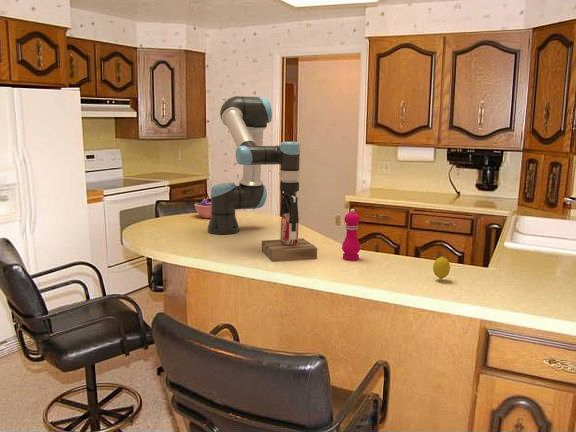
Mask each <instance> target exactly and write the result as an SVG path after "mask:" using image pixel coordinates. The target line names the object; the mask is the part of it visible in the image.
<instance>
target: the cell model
mask: <svg viewBox="0 0 576 432" xmlns="http://www.w3.org/2000/svg"><path fill="white" fill-rule="evenodd" d="M194 207H195V210H196V213H197V214H198V215H199V216H200V217H201V218H203V219H208V220H210V218H211V201H209V200H208V198H204V199H202V200H201V202H196V203H194Z"/></svg>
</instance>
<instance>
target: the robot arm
mask: <svg viewBox="0 0 576 432" xmlns="http://www.w3.org/2000/svg"><path fill="white" fill-rule="evenodd" d="M219 116H220V119H221V122H222V124H223V125H224V126H226V127H227V129H228V131H229V134H230V135H231V137H232V139H233V142H234V144H235V145H236V149H235V160H236V163H237V164H238V165H241V166H242V178H241V179H240V180H239V183H238V184H239V185H236V183H235V182H223V183H222V182H221V183H217V184H214V185H213V186H212V187H211V189H210V202H211V218H209V221H208V224H207V225H208V226H207V232H208V233H209V234H212V235H213V234H214V235H233V234H236V233H239V232H240V226H239V222H238V219H237V217H236V210H255V209H261V208H263V207H264V206H265V203H266V201H267V196H268V195H267V194H268V192H267V187H266V185H264V181H262V179H261V176H262V175H261V173H262V165H263V166H268V165H272V166H273V165H279V166H280V172H279V173H278V176H280V177H279V179H280V182H279V190H280V191H281V192H282V193H281V204H280V214H279V215H280V217H281V218H282V217H283V214H285V213H289V216H290V221H289V239H290V240H294V239H296V231H297V222H300V221H299V206H298V202H299V201H298V200H299V198H298V196H296V194H295V193H298V192H299V191H300V182H299V181H300V172H301V171H300V160H301V159H300V157H301V155H300V154H301V146H300V142H298V141H282V142H281V143H280V145H279V144H278V145H263V139H264V131H265V130H266V129H267V127H268V124H269V123H271V122H272V120H273V119H272V118H273V109H272V104H271V103H270V100H269V99H268V98H267V97H262V96H240V95H237V96H232V97H229V98H228V99H227V100H225V101H224V102H223V104H222V105H221V107H220V111H219Z"/></svg>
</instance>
